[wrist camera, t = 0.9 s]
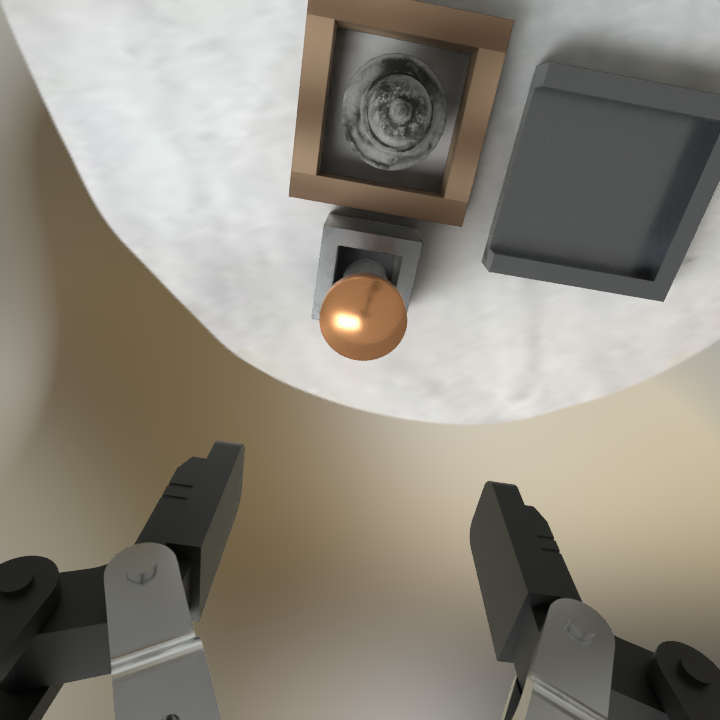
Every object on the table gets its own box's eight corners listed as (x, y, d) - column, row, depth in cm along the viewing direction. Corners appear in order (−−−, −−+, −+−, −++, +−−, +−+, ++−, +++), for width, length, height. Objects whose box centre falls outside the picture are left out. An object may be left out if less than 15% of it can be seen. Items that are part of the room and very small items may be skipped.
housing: (329, 213, 33) (323, 225, 29) (416, 228, 34) (422, 242, 30) (318, 296, 36) (311, 318, 32) (398, 310, 36) (402, 333, 32)
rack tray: (536, 66, 29) (550, 61, 27) (726, 103, 30) (755, 102, 28) (481, 262, 34) (489, 271, 32) (644, 290, 35) (663, 301, 33)
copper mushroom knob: (335, 240, 30) (325, 271, 24) (406, 252, 30) (415, 286, 24) (325, 307, 32) (314, 353, 25) (392, 318, 32) (397, 366, 26)
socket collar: (315, -9, 28) (310, -21, 26) (502, 28, 29) (514, 20, 26) (294, 191, 33) (288, 196, 30) (455, 219, 33) (461, 226, 31)
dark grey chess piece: (369, 182, 32) (368, 211, 22) (328, 91, 30) (303, 73, 19) (453, 139, 31) (496, 147, 20) (416, 40, 29) (442, -9, 18)
